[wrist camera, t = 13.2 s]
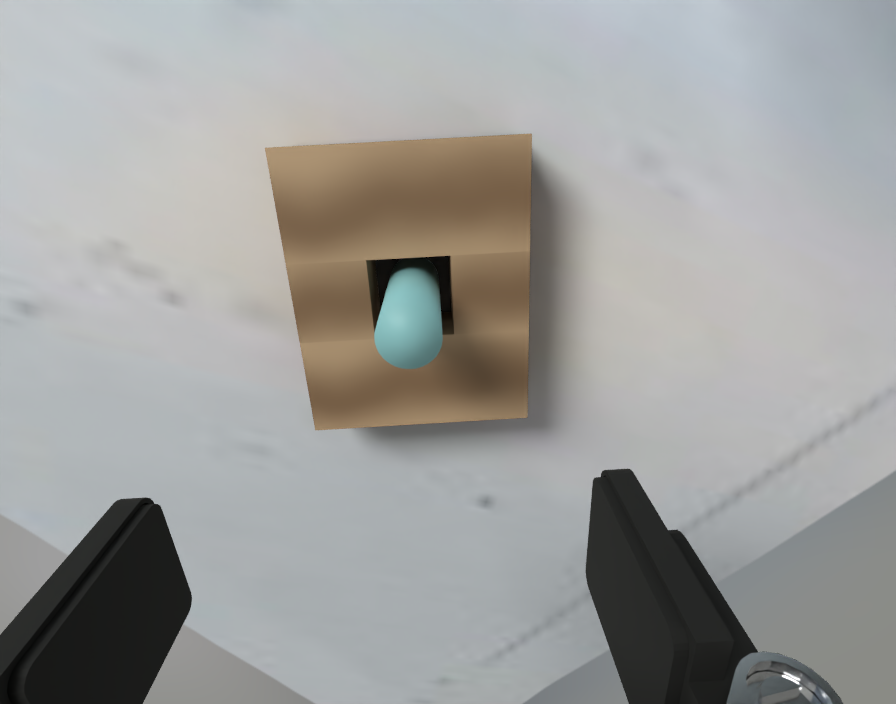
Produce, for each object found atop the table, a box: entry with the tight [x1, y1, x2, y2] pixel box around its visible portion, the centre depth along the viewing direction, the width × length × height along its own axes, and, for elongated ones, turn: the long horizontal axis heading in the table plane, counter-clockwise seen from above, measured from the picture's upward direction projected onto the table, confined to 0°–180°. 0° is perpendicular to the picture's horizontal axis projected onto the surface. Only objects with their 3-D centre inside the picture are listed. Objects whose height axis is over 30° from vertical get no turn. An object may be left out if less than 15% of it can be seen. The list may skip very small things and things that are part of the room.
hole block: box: [265, 134, 532, 430], centre depth 29 cm, size 16×13×4 cm
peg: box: [374, 257, 443, 369], centre depth 27 cm, size 3×3×10 cm
